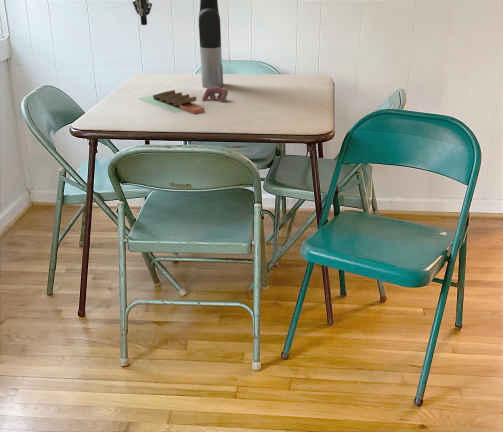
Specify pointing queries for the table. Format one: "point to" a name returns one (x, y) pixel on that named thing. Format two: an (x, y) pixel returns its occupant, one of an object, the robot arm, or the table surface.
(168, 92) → the domino
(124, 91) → the table surface
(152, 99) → the felt mat
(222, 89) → the video game controller
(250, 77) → the table surface
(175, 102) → the domino
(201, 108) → the domino
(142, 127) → the table surface
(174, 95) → the domino
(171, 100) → the domino
